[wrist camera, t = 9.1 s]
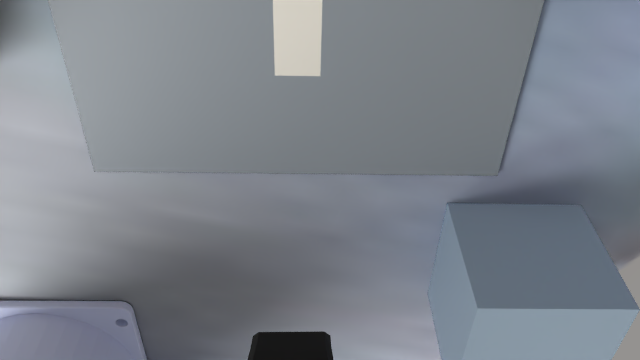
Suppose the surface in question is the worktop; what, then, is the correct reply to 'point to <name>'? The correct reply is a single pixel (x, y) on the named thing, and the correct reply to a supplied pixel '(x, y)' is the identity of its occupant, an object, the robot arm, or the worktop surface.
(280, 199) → the worktop surface
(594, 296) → the grey cube
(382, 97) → the light gray board
